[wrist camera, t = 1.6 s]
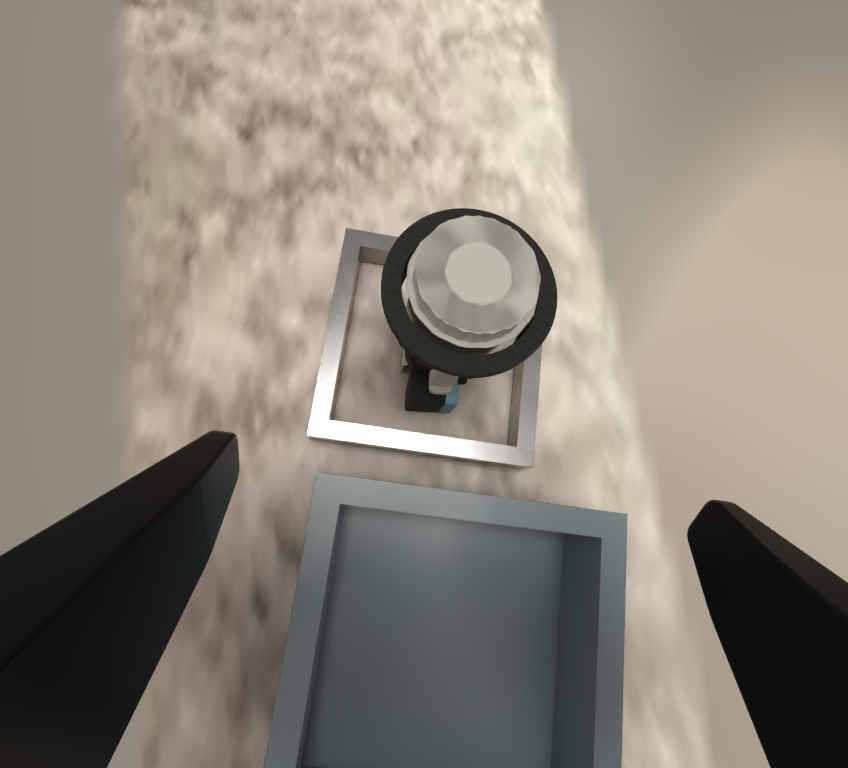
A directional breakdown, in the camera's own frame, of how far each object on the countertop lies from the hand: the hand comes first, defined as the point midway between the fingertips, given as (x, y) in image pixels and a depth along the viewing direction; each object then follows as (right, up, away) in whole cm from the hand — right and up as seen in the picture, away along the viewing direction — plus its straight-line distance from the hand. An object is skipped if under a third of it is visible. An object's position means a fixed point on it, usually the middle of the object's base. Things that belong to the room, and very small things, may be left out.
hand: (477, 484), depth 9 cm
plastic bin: (0, -9, +11) cm, 14 cm away
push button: (-1, +3, +14) cm, 14 cm away
